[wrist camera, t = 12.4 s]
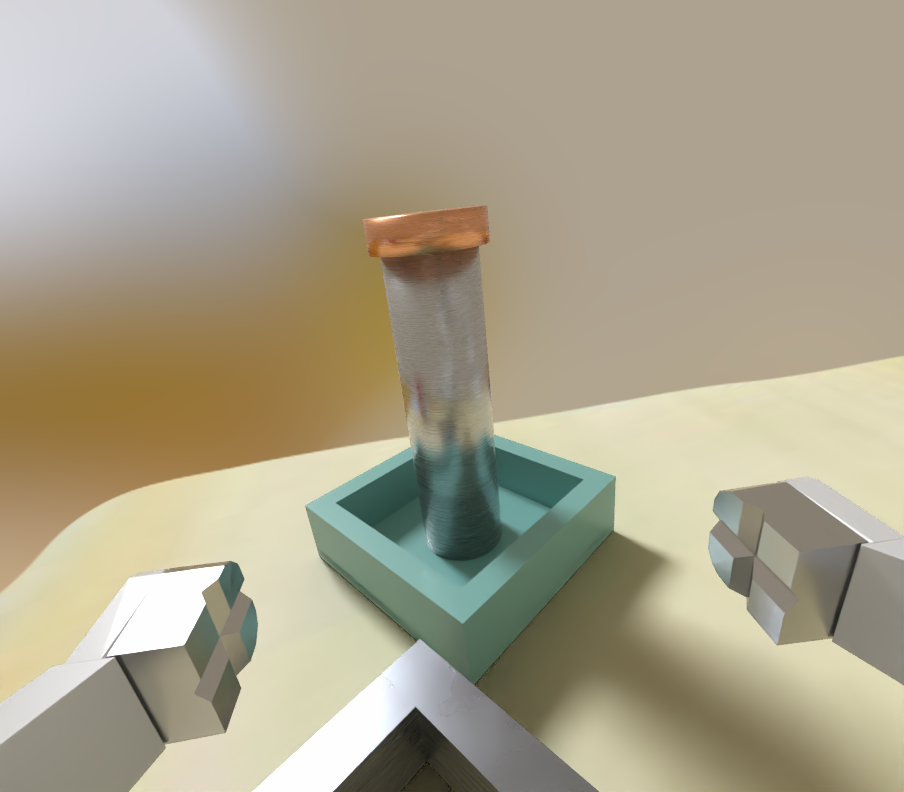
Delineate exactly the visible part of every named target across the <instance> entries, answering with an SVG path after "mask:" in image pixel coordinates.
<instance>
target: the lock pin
mask: <svg viewBox="0 0 904 792" xmlns="http://www.w3.org/2000/svg"><path fill="white" fill-rule="evenodd" d="M363 225H364V231H365V237H366V243H367V248H368V254H369V256H370V257H380V258H381V265H382V270H383V277H384V283H385V289H386V295H387V302H388V308H389V314H390V320H391V326H392V333H393V339H394V345H395V351H396V357H397V364H398V370H399V375H400V382H401V388H402V394H403V401H404V407H405V413H406V419H407V426H408V432H409V438H410V444H411V450H412V456H413V463H414V469H415V475H416V481H417V487H418V494H419V500H420V506H421V512H422V518H423V525H424V531H425V537H426V542H427V545H428V547H429V548H430V550H431V551H432V552H433V553H435V554H436V555H438V556H439V557H442V558H444V559H448V560H453V561H467V560H472V559H476V558H479V557H482V556H484V555H486V554H488V553H489V552H491V551H492V550H493V549H494V548H495V547H496V546H497V545H498V543H499V541H500V539H501V535H502V529H501V516H500V504H499V491H498V479H497V466H496V454H495V441H494V429H493V417H492V404H491V391H490V379H489V366H488V354H487V341H486V329H485V317H484V305H483V292H482V279H481V268H480V255H479V246H480V245H483V244H487V243H489V242H490V239H489V226H488V225H489V224H488V210H487V205H481V206H470V207H460V208H450V209H441V210H433V211H423V212H415V213H407V214H399V215H391V216H383V217H376V218H369V219H363Z"/></svg>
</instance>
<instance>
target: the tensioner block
mask: <svg viewBox="0 0 904 792" xmlns="http://www.w3.org/2000/svg"><path fill="white" fill-rule="evenodd" d="M426 762H428V763H429V764H430V765H431V766H432V767H433V768H434V769H435V770H436V772H437V773H438V774H439V775H440V776H441V777H442V778H443V779H444V780H445V782H446V783H447V784H448V785H449V786H450V787H451V788H452V789H453V790H454V792H599V791H598V790H596V789H595V788H594V787H593V786H592V785H591V784H589V783H588V782H587V781H586V780H585V779H584V778H582V777H581V776H580V775H579V774H578V773H577V772H575V771H574V770H573V769H572V768H571V767H570V766H568V765H567V764H566V763H565V762H564V761H563V760H561V759H560V758H559V757H558V756H557V755H555V754H554V753H553V752H552V751H551V750H550V749H548V748H547V747H546V746H545V745H544V744H543V743H541V742H540V741H539V740H538V739H537V738H536V737H534V736H533V735H532V734H531V733H530V732H529V731H527V730H526V729H525V728H524V727H523V726H522V725H520V724H519V723H518V722H517V721H516V720H514V719H513V718H512V717H511V716H510V715H509V714H507V713H506V712H505V711H504V710H503V709H502V708H500V707H499V706H498V705H497V704H496V703H495V702H493V701H492V700H491V699H490V698H489V697H488V696H486V695H485V694H484V693H483V692H482V691H481V690H479V689H478V688H477V687H476V686H475V685H473V684H472V683H471V682H470V681H469V680H468V679H466V678H465V677H464V676H463V675H462V674H461V673H459V672H458V671H457V670H456V669H455V668H454V667H452V666H451V665H450V664H449V663H448V662H447V661H445V660H444V659H443V658H442V657H441V656H440V655H438V654H437V653H436V652H435V651H434V650H432V649H431V648H430V647H429V646H428V645H427V644H425V643H424V642H423V641H422V640H421V639H419V640H418V641H417V642H416V643H415V644H414V645H413V646H411V647H410V648H409V649H408V650H407V651H406V652H405V653H404V654H403V655H402V656H400V657H399V658H398V659H397V660H396V661H395V662H394V663H393V664H392V665H391V666H390V667H388V668H387V669H386V670H385V671H384V672H383V673H382V674H381V675H380V676H379V677H378V678H376V679H375V680H374V681H373V682H372V683H371V684H370V685H369V686H368V687H367V688H365V689H364V690H363V691H362V692H361V693H360V694H359V695H358V696H357V697H356V698H355V699H353V700H352V701H351V702H350V703H349V704H348V705H347V706H346V707H345V708H344V709H343V710H341V711H340V712H339V713H338V714H337V715H336V716H335V717H334V718H333V719H332V720H331V721H329V722H328V723H327V724H326V725H325V726H324V727H323V728H322V729H321V730H320V731H318V732H317V733H316V734H315V735H314V736H313V737H312V738H311V739H310V740H309V741H308V742H306V743H305V744H304V745H303V746H302V747H301V748H300V749H299V750H298V751H297V752H296V753H294V754H293V755H292V756H291V757H290V758H289V759H288V760H287V761H286V762H285V763H283V764H282V765H281V766H280V767H279V768H278V769H277V770H276V771H275V772H274V773H273V774H271V775H270V776H269V777H268V778H267V779H266V780H265V781H264V782H263V783H262V784H261V785H259V786H258V787H257V788H256V789H255V790H254V791H253V792H401V791H402V790H403V788H404V787H405V786H406V785H407V784H408V783H409V781H410V780H411V779H412V778H413V777H414V776H415V775H416V773H417V772H418V771H419V770H420V769H421V768H422V766H423V765H424V764H425V763H426Z"/></svg>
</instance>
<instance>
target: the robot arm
mask: <svg viewBox="0 0 904 792" xmlns="http://www.w3.org/2000/svg"><path fill="white" fill-rule="evenodd" d="M713 512H714V513H715V515H716V516H717V517H718V518H719V520H720V521H719V522H718V523H717V524H716V525H715V526H714V528H713V529H712V530H711V531H710V535H709V546H708V549H709V553H710V556H711V560H712V564H713V566H714V568H715V570H716V572H717V573H718V575H719V577H720V578H721V579H722V580H723V582H724V583H725V584H726V585H727V587H728V588H730V589H732V590H734V591H735V592H737V593H739V594H741V595H743V596H745V597H747V611H748V612H749V613H750V614H751V615H752V617H753V618H754V619H755V620H756V621H757V622H758V624H759V625H760V626H761V627H762V628H763V630H764V631H765V632H766V633H767V634H768V635H769V637H770V638H771V639H772V640H773V641H774V643H775V644H776V645H784V644H792V643H799V642H807V641H815V640H823V639H831V638H833V639H832V642H834V643H835V644H837V645H839V646H840V647H842V648H844V649H845V650H847V651H849V652H850V653H852V654H853V655H855V656H857V657H858V658H860V659H862V660H863V661H865V662H867V663H868V664H870V665H872V666H873V667H875V668H876V669H878V670H880V671H881V672H883V673H885V674H886V675H888V676H890V677H891V678H893V679H895V680H896V681H898V682H899V683H901V684H903V685H904V536H903V535H901V534H900V533H898V532H897V531H895V530H894V529H892V528H891V527H889V526H888V525H886V524H885V523H883V522H882V521H880V520H879V519H877V518H876V517H874V516H873V515H871V514H870V513H868V512H867V511H865V510H864V509H862V508H861V507H859V506H858V505H856V504H855V503H853V502H852V501H850V500H849V499H847V498H846V497H844V496H842V495H841V494H839V493H838V492H836V491H835V490H833V489H832V488H830V487H829V486H827V485H826V484H824V483H823V482H821V481H820V480H818V479H814V478H811V477H801V478H795V479H789V480H784V481H778V482H776V483H770V484H763V485H756V486H750V487H743V488H736V489H730V490H723V491H719V493H718V495H717V496H716V498H715V500H714V506H713ZM243 581H244V577H243V575H242V572H241V570H240V567H239V565H238V564H237V563H234V562H232V561H227V562H219V563H210V564H202V565H194V566H186V567H177V568H170V569H164V570H157V571H149V572H141V573H138V574H136V575H134V576H132V577H130V578H129V579H128V580H127V582H126V583H125V584H124V586H123V587H122V588H121V590H120V591H119V592H118V594H117V595H116V596H115V598H114V599H113V600H112V601H111V603H110V604H109V605H108V607H107V608H106V609H105V611H104V612H103V613H102V615H101V616H100V617H99V619H98V620H97V621H96V623H95V624H94V625H93V627H92V628H91V629H90V631H89V632H88V633H87V635H86V636H85V637H84V639H83V640H82V641H81V643H80V644H79V645H78V647H77V648H76V649H75V651H74V652H73V653H72V655H71V656H70V657H69V659H68V660H67V661H66V663H65V664H64V665H57V666H52V667H51V668H49V669H48V670H47V671H45V672H44V673H42V674H41V675H40V676H38V677H37V678H35V679H34V680H32V681H31V682H30V683H28V684H27V685H25V686H24V687H23V688H21V689H20V690H18V691H17V692H16V693H14V694H13V695H11V696H10V697H9V698H7V699H6V700H4V701H3V702H1V703H0V792H129V791H130V790H131V788H132V787H133V786H134V785H135V784H136V782H137V781H138V780H139V779H140V778H141V777H142V775H143V774H144V773H145V772H146V771H147V769H148V768H149V767H150V766H151V765H152V764H153V762H154V761H155V760H156V759H157V758H158V757H159V755H160V754H161V753H162V752H163V751H164V749H165V744H170V743H175V742H181V741H186V740H191V739H196V738H202V737H207V736H212V735H217V734H223V733H226V730H227V727H228V724H229V722H230V719H231V716H232V713H233V710H234V707H235V704H236V702H237V699H238V696H239V693H240V690H241V687H240V684H239V682H238V679H237V677H236V675H237V674H238V673H239V672H240V671H241V670H242V669H243V668H244V667H245V666H246V665H247V664H248V663H249V662H250V661H251V658H252V655H253V652H254V649H255V645H256V638H257V628H258V623H257V615H256V610H255V607H254V604H253V601H252V599H250V598H249V597H247V596H246V595H244V594H243V593H241V592H240V589H241V586H242V584H243Z"/></svg>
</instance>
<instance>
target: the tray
mask: <svg viewBox="0 0 904 792" xmlns="http://www.w3.org/2000/svg"><path fill="white" fill-rule="evenodd" d="M494 441H495V454H496V466H497V479H498V491H499V504H500V516H501V529H502V535H501V539H500V541H499V543H498V545H497V546H496V547H495V548H494V549H493V550H492V551H491V552H489V553H488V554H486V555H484V556H482V557H479V558H476V559H472V560H467V561H453V560H448V559H444V558H442V557H439V556H438V555H436V554H435V553H433V552H432V551H431V550H430V548H429V547H428V545H427V542H426V537H425V531H424V525H423V518H422V512H421V506H420V500H419V494H418V487H417V481H416V475H415V469H414V463H413V456H412V450H411V447H410V448H408V449H406V450H404V451H402V452H401V453H399V454H397V455H395V456H393V457H392V458H390V459H388V460H386V461H384V462H383V463H381V464H379V465H377V466H375V467H374V468H372V469H370V470H368V471H366V472H365V473H363V474H361V475H359V476H357V477H356V478H354V479H352V480H350V481H348V482H347V483H345V484H343V485H341V486H339V487H338V488H336V489H334V490H332V491H330V492H329V493H327V494H325V495H323V496H321V497H320V498H318V499H316V500H314V501H312V502H311V503H309V504H307V505H305V507H306V511H307V514H308V518H309V521H310V525H311V528H312V532H313V535H314V539H315V542H316V546H317V550H318V553H319V556H320V557H321V558H322V559H323V560H324V561H325V562H326V563H328V564H329V565H330V566H331V567H332V568H333V569H335V570H336V571H337V572H338V573H339V574H340V575H342V576H343V577H344V578H345V579H346V580H347V581H348V582H350V583H351V584H352V585H353V586H354V587H355V588H357V589H358V590H359V591H360V592H361V593H362V594H364V595H365V596H366V597H367V598H368V599H369V600H370V601H372V602H373V603H374V604H375V605H376V606H377V607H379V608H380V609H381V610H382V611H383V612H384V613H386V614H387V615H388V616H389V617H390V618H391V619H392V620H394V621H395V622H396V623H397V624H398V625H399V626H401V627H402V628H403V629H404V630H405V631H406V632H408V633H409V634H410V635H411V636H412V637H413V638H414V639H416V640H417V641H418V640H419V639H421V640H422V641H423V642H424V643H425V644H427V645H428V646H429V647H430V648H431V649H432V650H434V651H435V652H436V653H437V654H438V655H440V656H441V657H442V658H443V659H444V660H445V661H447V662H448V663H449V664H450V665H451V666H452V667H454V668H455V669H456V670H457V671H458V672H459V673H461V674H462V675H463V676H464V677H465V678H466V679H468V680H469V681H470V682H471V683H472V684H473V685H474V684H475V683H476V682H477V681H478V680H479V679H480V678H481V676H482V675H483V674H484V673H485V672H486V671H487V670H488V669H489V668H490V666H491V665H492V664H493V663H494V662H495V661H496V660H497V659H498V658H499V657H500V655H501V654H502V653H503V652H504V651H505V650H506V649H507V648H508V647H509V645H510V644H511V643H512V642H513V641H514V640H515V639H516V638H517V637H518V635H519V634H520V633H521V632H522V631H523V630H524V629H525V628H526V627H527V626H528V624H529V623H530V622H531V621H532V620H533V619H534V618H535V617H536V616H537V614H538V613H539V612H540V611H541V610H542V609H543V608H544V607H545V606H546V604H547V603H548V602H549V601H550V600H551V599H552V598H553V597H554V596H555V595H556V593H557V592H558V591H559V590H560V589H561V588H562V587H563V586H564V585H565V583H566V582H567V581H568V580H569V579H570V578H571V577H572V576H573V575H574V573H575V572H576V571H577V570H578V569H579V568H580V567H581V566H582V565H583V563H584V562H585V561H586V560H587V559H588V558H589V557H590V556H591V555H592V554H593V552H594V551H595V550H596V549H597V548H598V547H599V546H600V545H601V544H602V542H603V541H604V540H605V539H606V538H607V537H608V536H609V535H610V534H611V532H612V531H613V530H614V507H615V481H616V476H613V475H610V474H607V473H604V472H601V471H598V470H595V469H592V468H589V467H586V466H584V465H581V464H578V463H575V462H572V461H569V460H566V459H563V458H560V457H557V456H555V455H552V454H549V453H546V452H543V451H540V450H537V449H534V448H531V447H528V446H525V445H523V444H520V443H517V442H514V441H511V440H508V439H505V438H502V437H499V436H496V435H494Z"/></svg>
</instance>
